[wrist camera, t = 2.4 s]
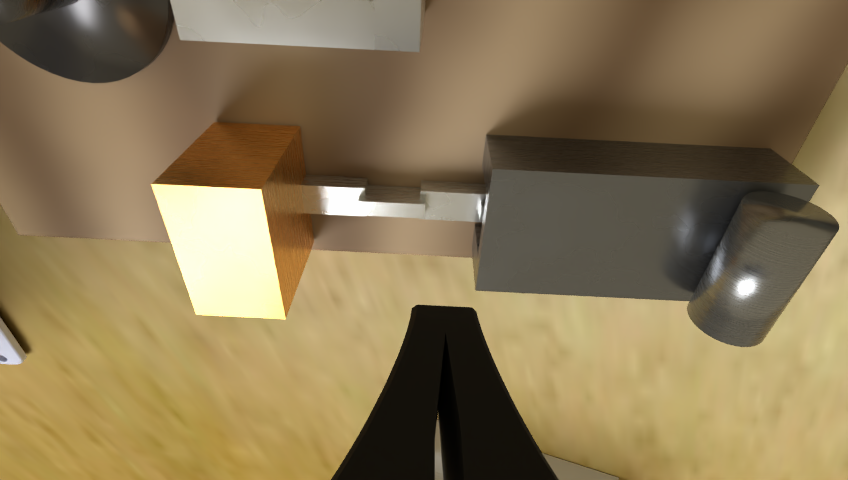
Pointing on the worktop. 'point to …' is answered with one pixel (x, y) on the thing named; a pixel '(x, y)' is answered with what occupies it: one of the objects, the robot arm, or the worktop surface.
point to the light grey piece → (569, 474)
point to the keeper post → (87, 35)
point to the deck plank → (420, 105)
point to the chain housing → (651, 227)
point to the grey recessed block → (304, 22)
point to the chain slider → (272, 214)
